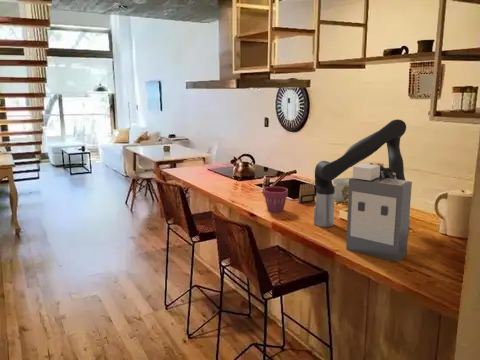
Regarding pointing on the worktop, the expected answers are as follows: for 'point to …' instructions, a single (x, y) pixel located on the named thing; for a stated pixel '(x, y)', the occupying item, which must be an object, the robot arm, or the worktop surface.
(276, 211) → the plant pot
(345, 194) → the pitcher
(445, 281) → the worktop surface
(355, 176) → the block
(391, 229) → the box
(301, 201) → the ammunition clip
